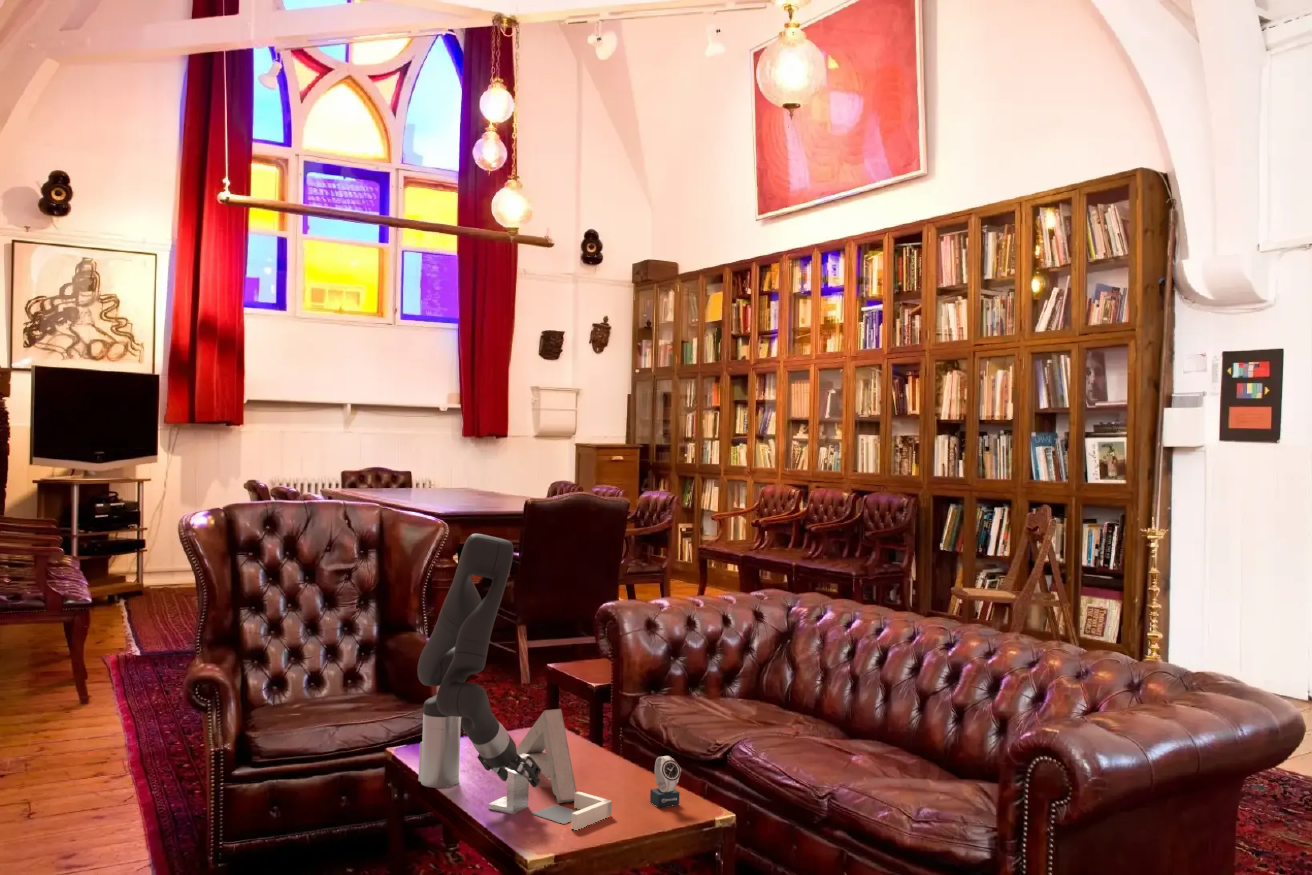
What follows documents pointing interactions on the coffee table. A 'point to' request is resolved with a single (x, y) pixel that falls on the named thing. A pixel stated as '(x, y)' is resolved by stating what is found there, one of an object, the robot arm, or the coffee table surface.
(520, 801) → the angle bracket
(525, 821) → the coffee table surface
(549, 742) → the letter a
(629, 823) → the coffee table surface
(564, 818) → the mat
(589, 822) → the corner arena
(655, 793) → the watch
